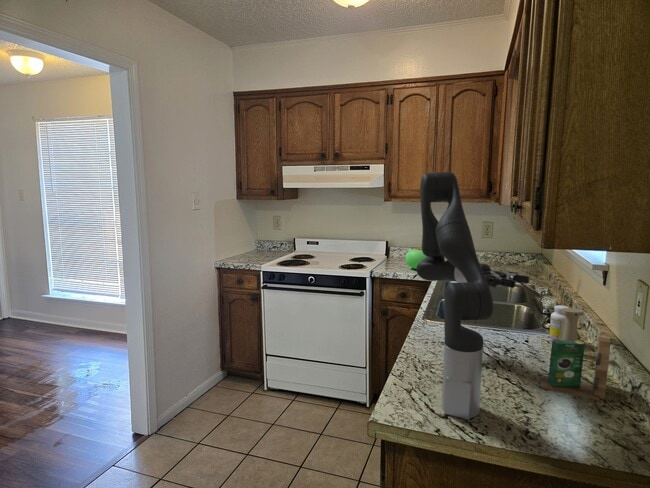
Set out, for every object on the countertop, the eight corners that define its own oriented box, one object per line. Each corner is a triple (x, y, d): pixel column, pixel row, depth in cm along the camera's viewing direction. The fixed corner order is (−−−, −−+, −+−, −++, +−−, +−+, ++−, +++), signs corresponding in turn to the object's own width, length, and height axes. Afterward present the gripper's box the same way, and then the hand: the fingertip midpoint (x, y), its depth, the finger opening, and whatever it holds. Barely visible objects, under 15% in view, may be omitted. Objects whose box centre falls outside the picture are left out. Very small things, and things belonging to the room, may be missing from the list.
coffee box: (575, 382, 119) (579, 339, 117) (581, 387, 116) (585, 343, 114) (547, 382, 119) (550, 339, 117) (552, 387, 116) (556, 343, 114)
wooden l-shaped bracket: (605, 402, 109) (611, 344, 107) (540, 388, 117) (544, 334, 114) (602, 383, 119) (607, 330, 117) (542, 371, 127) (546, 321, 124)
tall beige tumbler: (555, 349, 143) (559, 307, 141) (574, 349, 143) (578, 308, 140) (562, 355, 138) (566, 312, 136) (582, 355, 138) (586, 312, 136)
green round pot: (403, 270, 269) (404, 248, 267) (407, 265, 285) (407, 244, 282) (432, 272, 263) (433, 249, 261) (434, 267, 279) (434, 245, 277)
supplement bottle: (566, 338, 153) (569, 305, 151) (572, 345, 147) (575, 310, 145) (546, 336, 155) (549, 303, 153) (551, 343, 148) (554, 309, 146)
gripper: (460, 265, 130) (511, 272, 117) (484, 260, 139) (533, 266, 126) (459, 288, 131) (509, 298, 118) (483, 281, 140) (532, 290, 127)
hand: (522, 282), depth 122 cm, fingers open, 8 cm apart
